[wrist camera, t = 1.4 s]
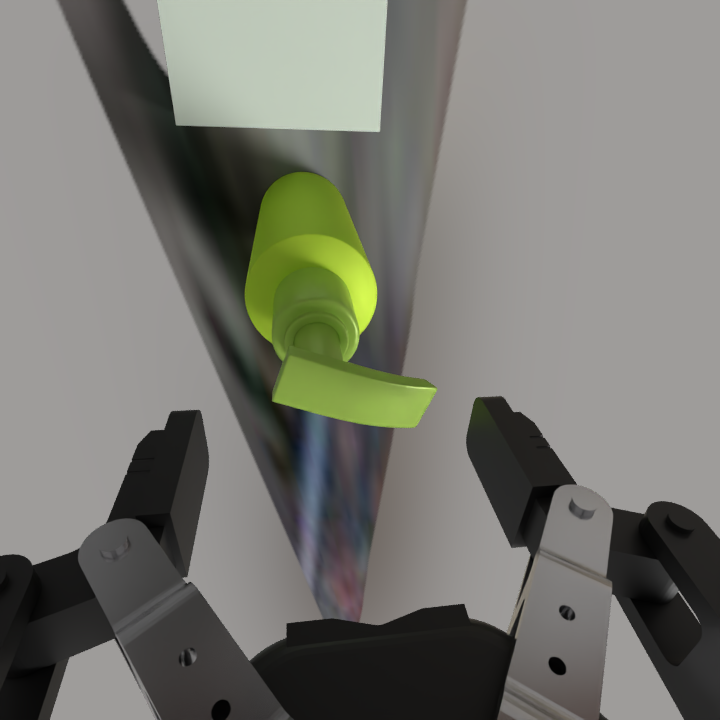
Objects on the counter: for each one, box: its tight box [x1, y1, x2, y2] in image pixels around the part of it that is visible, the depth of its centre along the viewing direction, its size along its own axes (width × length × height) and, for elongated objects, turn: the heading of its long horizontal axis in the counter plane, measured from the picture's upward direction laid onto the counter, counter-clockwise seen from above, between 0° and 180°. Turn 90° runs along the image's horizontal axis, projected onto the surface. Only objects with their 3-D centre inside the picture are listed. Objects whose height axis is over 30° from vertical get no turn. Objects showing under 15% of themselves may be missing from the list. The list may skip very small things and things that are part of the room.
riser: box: [157, 0, 387, 132], centre depth 24 cm, size 10×11×4 cm
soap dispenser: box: [245, 172, 437, 428], centre depth 23 cm, size 6×7×20 cm
